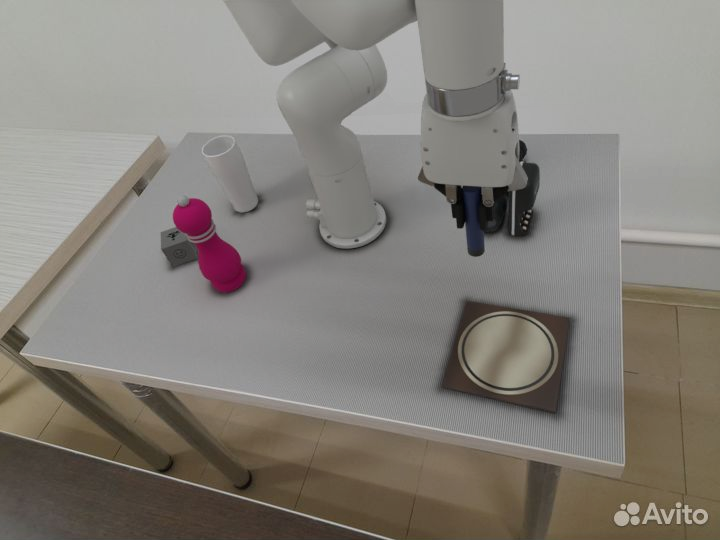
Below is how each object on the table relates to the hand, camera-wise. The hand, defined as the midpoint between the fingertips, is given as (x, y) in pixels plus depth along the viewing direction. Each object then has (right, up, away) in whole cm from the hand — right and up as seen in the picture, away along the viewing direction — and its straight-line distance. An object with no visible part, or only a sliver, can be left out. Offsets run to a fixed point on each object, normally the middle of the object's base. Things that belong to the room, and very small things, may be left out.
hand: (473, 221), depth 65 cm
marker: (+1, -4, +4) cm, 6 cm away
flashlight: (+12, +8, +31) cm, 34 cm away
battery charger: (+14, +2, +25) cm, 29 cm away
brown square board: (+7, -18, +9) cm, 21 cm away
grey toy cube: (-48, -3, +37) cm, 61 cm away
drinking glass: (-38, +7, +44) cm, 58 cm away
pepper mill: (-38, -8, +30) cm, 49 cm away
